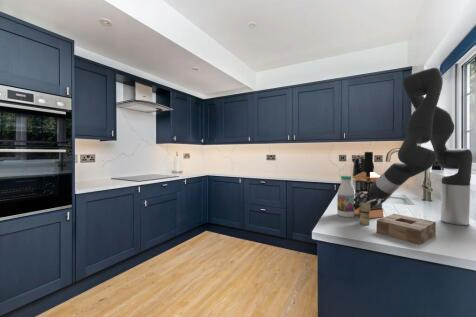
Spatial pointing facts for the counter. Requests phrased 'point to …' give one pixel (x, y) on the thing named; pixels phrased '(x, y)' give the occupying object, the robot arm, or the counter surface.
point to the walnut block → (406, 228)
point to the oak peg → (364, 212)
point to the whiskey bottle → (367, 184)
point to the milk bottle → (345, 198)
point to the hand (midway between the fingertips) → (362, 207)
